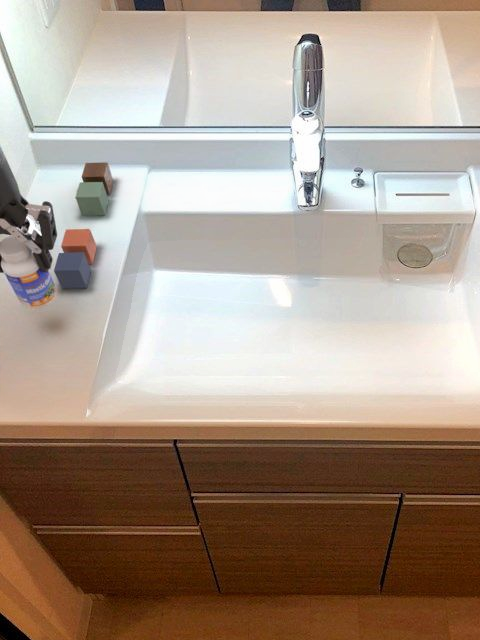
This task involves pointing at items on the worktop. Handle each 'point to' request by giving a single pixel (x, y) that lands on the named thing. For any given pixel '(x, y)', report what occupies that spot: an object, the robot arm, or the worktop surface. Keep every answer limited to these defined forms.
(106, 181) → the block
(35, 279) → the pill bottle
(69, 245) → the block
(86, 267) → the block
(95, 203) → the block
